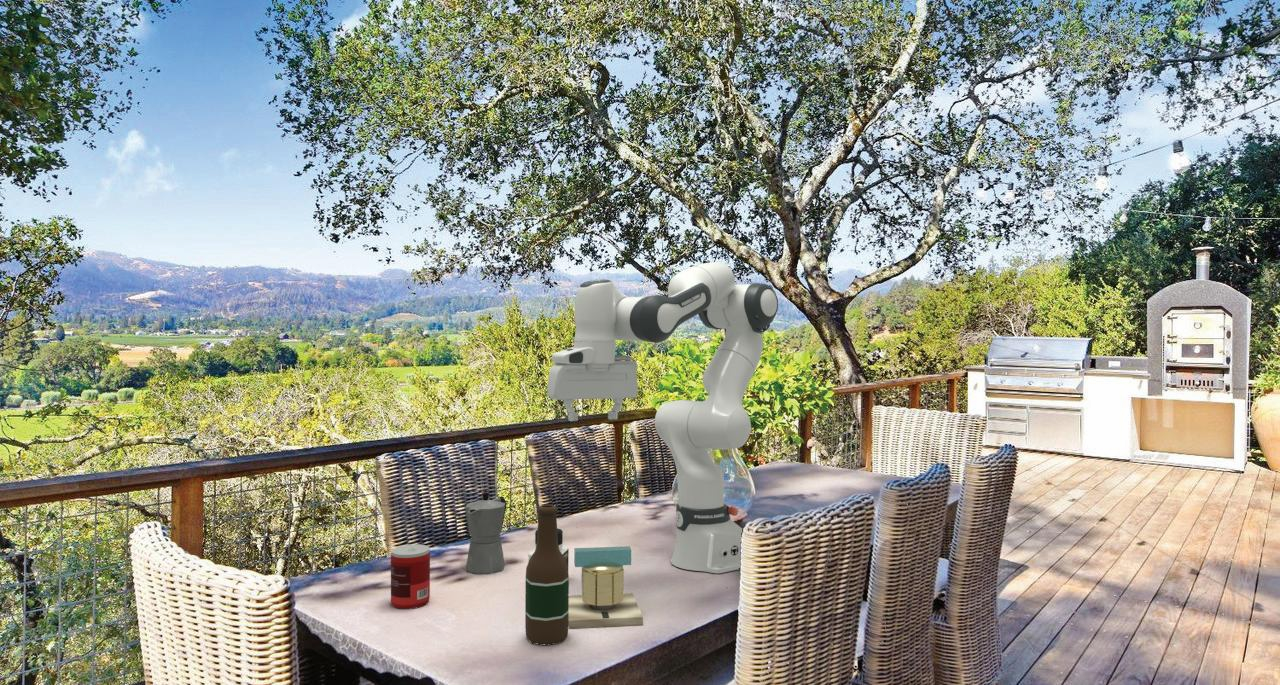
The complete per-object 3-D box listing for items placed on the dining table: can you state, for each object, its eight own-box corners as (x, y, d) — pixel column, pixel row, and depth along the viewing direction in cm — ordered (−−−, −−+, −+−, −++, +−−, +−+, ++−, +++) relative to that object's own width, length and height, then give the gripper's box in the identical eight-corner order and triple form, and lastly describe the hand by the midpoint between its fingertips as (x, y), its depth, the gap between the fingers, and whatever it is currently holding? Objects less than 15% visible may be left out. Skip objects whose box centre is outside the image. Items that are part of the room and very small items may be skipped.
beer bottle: (568, 645, 140) (568, 510, 140) (523, 646, 140) (524, 510, 140) (568, 629, 148) (569, 501, 148) (526, 630, 148) (527, 501, 147)
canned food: (431, 595, 167) (431, 543, 167) (427, 608, 159) (428, 553, 159) (393, 597, 165) (393, 544, 165) (388, 610, 158) (388, 555, 157)
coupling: (573, 593, 160) (573, 544, 159) (627, 590, 161) (627, 542, 161) (575, 606, 152) (576, 555, 151) (632, 604, 153) (633, 553, 153)
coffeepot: (487, 579, 178) (488, 499, 178) (452, 574, 181) (452, 495, 181) (521, 560, 192) (522, 486, 192) (488, 556, 195) (488, 483, 195)
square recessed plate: (564, 603, 162) (565, 571, 162) (632, 600, 164) (632, 568, 164) (568, 628, 148) (569, 593, 148) (642, 624, 151) (643, 590, 150)
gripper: (629, 355, 177) (628, 417, 177) (544, 354, 167) (543, 420, 167) (643, 356, 172) (642, 419, 172) (557, 355, 161) (555, 423, 161)
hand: (593, 420), depth 169 cm, fingers open, 8 cm apart
